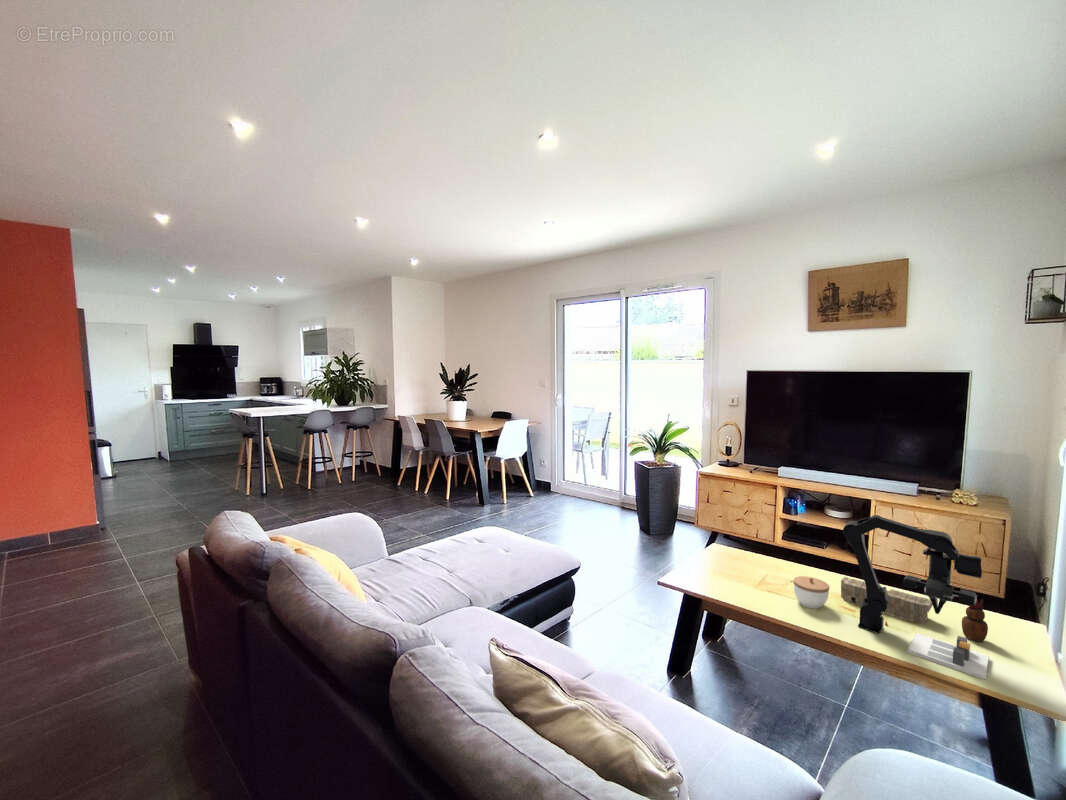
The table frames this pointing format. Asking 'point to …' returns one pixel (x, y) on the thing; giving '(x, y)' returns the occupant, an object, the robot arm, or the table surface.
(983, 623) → the wooden figurine
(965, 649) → the block
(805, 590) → the lidded bowl
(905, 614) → the block tower
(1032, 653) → the table surface
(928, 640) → the panel
